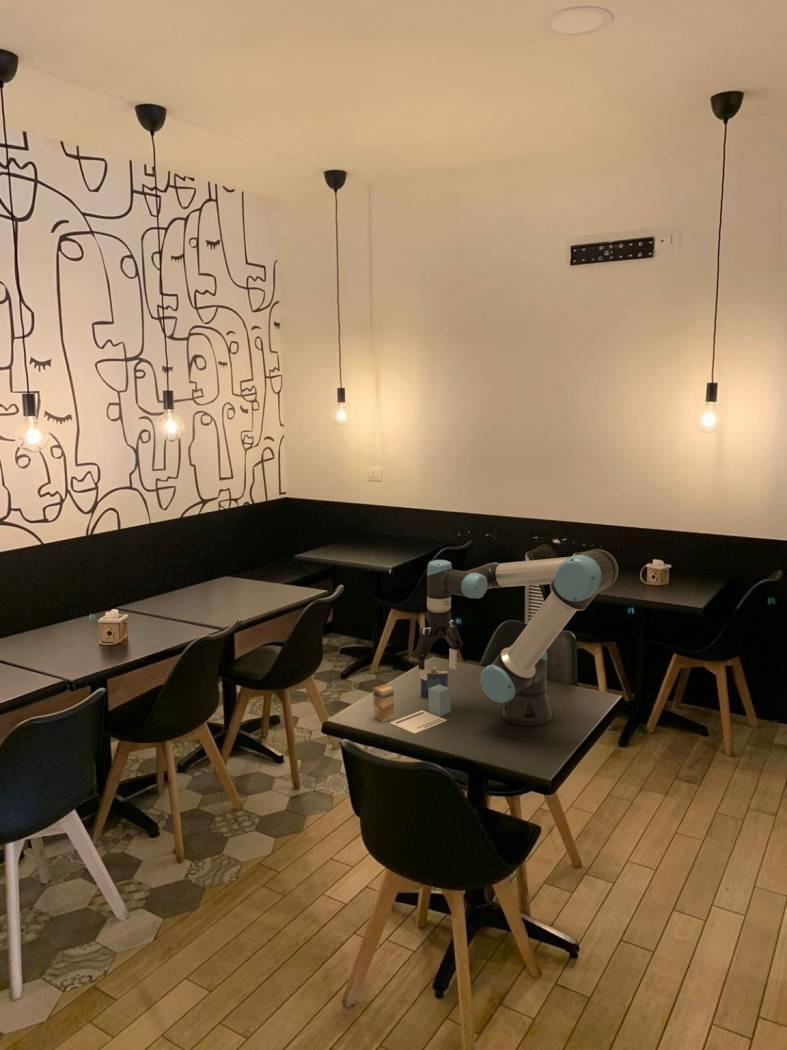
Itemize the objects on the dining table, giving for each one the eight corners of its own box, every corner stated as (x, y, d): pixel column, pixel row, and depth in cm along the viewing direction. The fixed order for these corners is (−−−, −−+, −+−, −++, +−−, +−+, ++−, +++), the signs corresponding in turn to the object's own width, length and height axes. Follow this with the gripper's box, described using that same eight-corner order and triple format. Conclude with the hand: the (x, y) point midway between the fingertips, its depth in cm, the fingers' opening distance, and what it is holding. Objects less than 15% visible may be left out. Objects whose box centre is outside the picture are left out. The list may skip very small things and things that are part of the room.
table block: (394, 718, 250) (393, 687, 248) (383, 722, 247) (382, 691, 245) (384, 714, 253) (383, 684, 251) (373, 718, 250) (373, 687, 248)
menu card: (446, 720, 247) (446, 719, 247) (414, 734, 238) (414, 733, 238) (421, 711, 255) (421, 710, 255) (390, 723, 246) (390, 722, 246)
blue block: (450, 712, 254) (450, 688, 253) (439, 716, 251) (439, 692, 249) (439, 707, 258) (439, 684, 256) (428, 712, 254) (428, 688, 253)
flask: (448, 695, 268) (448, 665, 266) (448, 698, 265) (448, 668, 263) (421, 695, 268) (420, 665, 267) (420, 698, 265) (420, 668, 264)
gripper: (419, 619, 238) (418, 686, 241) (474, 604, 254) (473, 667, 258) (402, 614, 243) (402, 680, 247) (457, 599, 260) (456, 661, 263)
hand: (438, 673), depth 252 cm, fingers open, 13 cm apart
